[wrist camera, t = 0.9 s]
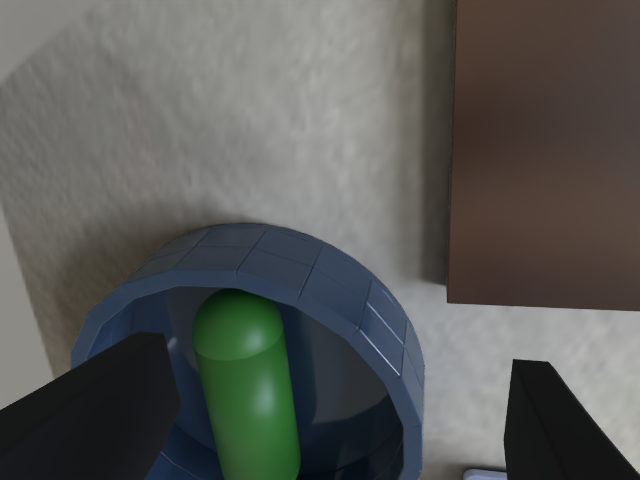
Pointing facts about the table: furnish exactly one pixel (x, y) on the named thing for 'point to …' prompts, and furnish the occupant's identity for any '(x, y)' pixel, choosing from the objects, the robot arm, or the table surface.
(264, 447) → the cucumber
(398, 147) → the table surface
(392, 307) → the bowl
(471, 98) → the plate
